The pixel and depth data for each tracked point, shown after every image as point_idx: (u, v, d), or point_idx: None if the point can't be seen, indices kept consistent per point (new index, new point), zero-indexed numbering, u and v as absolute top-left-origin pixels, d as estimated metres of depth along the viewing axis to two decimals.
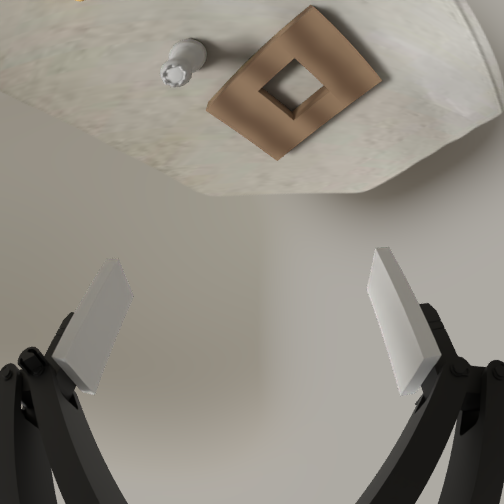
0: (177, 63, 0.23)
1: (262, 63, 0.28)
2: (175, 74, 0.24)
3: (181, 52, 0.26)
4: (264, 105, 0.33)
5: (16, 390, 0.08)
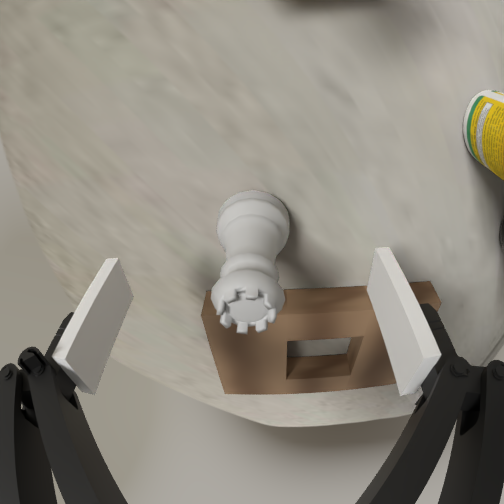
0: (274, 300, 0.12)
1: (329, 321, 0.20)
2: (249, 311, 0.13)
3: (269, 241, 0.15)
4: (275, 355, 0.23)
5: (16, 390, 0.08)
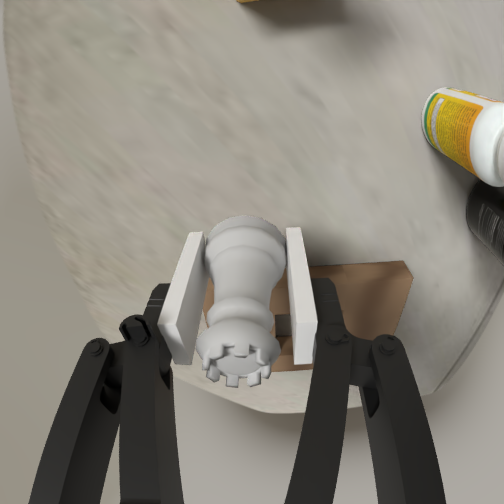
0: (268, 355, 0.10)
1: None
2: (240, 365, 0.10)
3: (263, 278, 0.13)
4: None
5: (101, 372, 0.09)
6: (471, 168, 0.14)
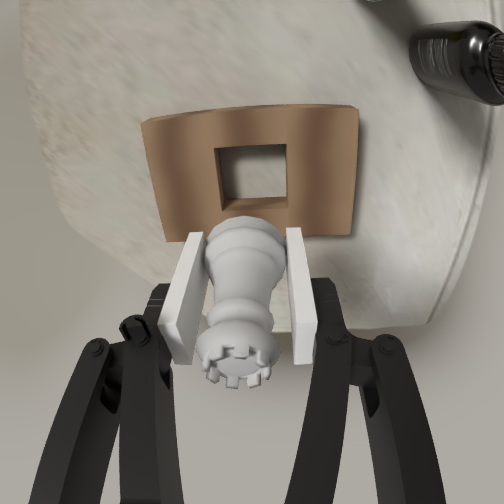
0: (268, 356, 0.10)
1: (248, 121, 0.22)
2: (240, 366, 0.10)
3: (263, 279, 0.13)
4: (205, 170, 0.25)
5: (101, 372, 0.09)
6: None
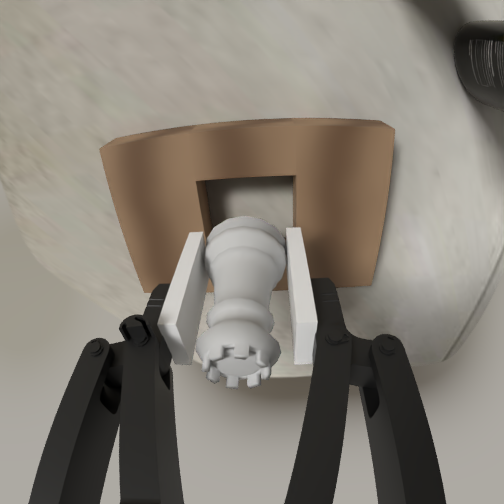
0: (268, 356, 0.10)
1: (242, 144, 0.16)
2: (240, 366, 0.10)
3: (263, 279, 0.13)
4: (186, 209, 0.19)
5: (101, 372, 0.09)
6: None
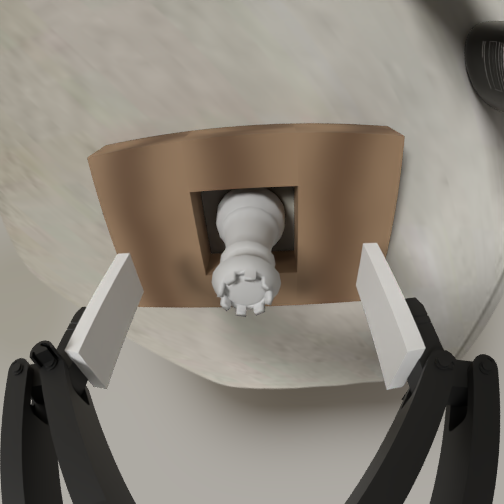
0: (271, 283, 0.13)
1: (239, 153, 0.15)
2: (248, 293, 0.14)
3: (266, 231, 0.16)
4: (180, 222, 0.17)
5: (26, 386, 0.08)
6: None
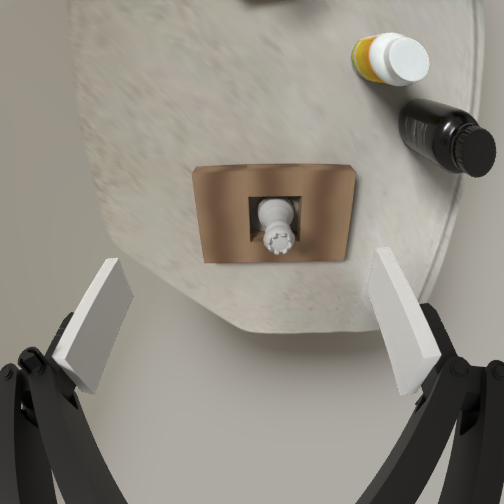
0: (291, 238, 0.30)
1: (275, 179, 0.32)
2: (280, 243, 0.30)
3: (286, 217, 0.33)
4: (241, 212, 0.34)
5: (16, 390, 0.08)
6: (375, 75, 0.22)
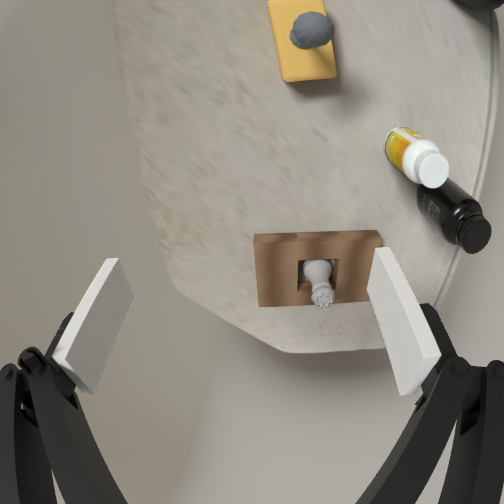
0: (332, 296, 0.39)
1: (320, 247, 0.40)
2: (324, 300, 0.39)
3: (327, 276, 0.42)
4: (291, 271, 0.43)
5: (16, 390, 0.08)
6: (405, 174, 0.30)
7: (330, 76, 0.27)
